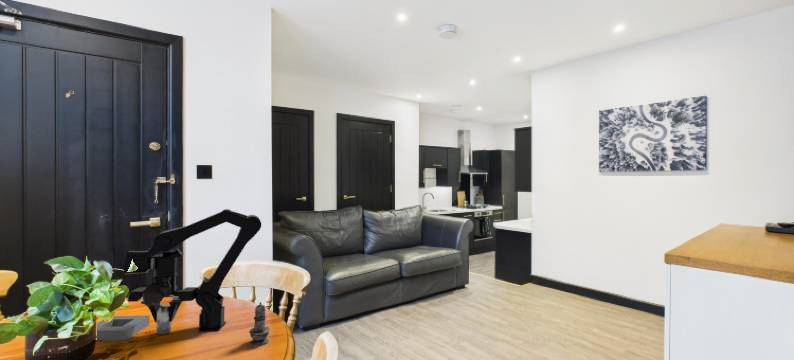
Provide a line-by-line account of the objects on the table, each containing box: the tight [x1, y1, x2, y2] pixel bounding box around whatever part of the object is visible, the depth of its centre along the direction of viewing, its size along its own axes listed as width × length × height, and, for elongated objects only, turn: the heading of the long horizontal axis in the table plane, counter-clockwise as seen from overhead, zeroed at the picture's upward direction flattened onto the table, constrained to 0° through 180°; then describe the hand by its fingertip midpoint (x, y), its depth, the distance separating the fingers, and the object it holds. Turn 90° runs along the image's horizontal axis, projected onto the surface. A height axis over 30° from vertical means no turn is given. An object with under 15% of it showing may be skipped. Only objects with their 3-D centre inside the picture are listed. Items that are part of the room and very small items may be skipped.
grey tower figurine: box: [248, 301, 271, 347], centre depth 109 cm, size 6×6×12 cm
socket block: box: [96, 315, 151, 342], centre depth 113 cm, size 12×12×3 cm
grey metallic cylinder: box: [155, 303, 172, 335], centre depth 114 cm, size 4×4×8 cm
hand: (163, 321), depth 114 cm, fingers closed on grey metallic cylinder, 4 cm apart
